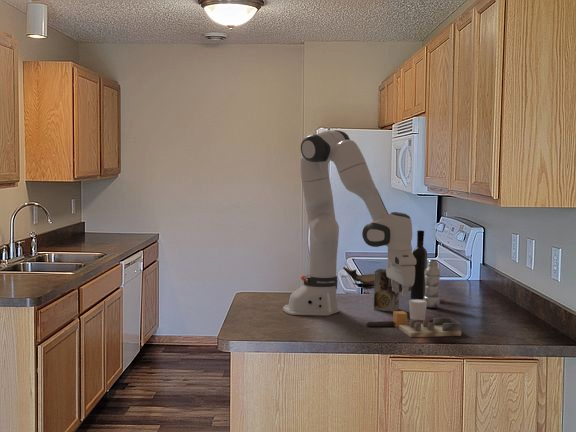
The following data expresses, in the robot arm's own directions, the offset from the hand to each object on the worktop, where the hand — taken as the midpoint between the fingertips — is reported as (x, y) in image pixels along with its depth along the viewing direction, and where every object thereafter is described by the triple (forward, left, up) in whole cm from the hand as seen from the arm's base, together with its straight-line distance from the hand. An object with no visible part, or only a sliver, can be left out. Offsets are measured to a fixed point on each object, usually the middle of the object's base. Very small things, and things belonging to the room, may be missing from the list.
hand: (399, 294), depth 248 cm
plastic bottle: (+25, +27, -12) cm, 39 cm away
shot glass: (+12, +10, -12) cm, 20 cm away
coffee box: (+5, +26, -12) cm, 29 cm away
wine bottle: (+27, +46, -12) cm, 55 cm away
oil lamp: (+17, +76, -12) cm, 79 cm away
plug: (-5, 0, -12) cm, 13 cm away
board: (+8, -10, -12) cm, 17 cm away
